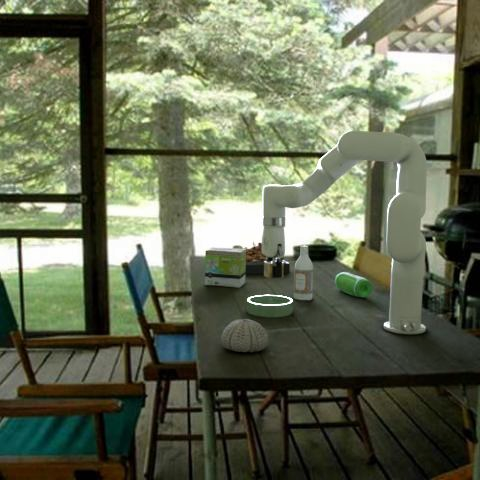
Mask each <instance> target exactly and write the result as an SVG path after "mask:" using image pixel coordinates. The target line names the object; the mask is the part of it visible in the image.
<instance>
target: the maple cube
mask: <svg viewBox="0 0 480 480" xmlns="http://www.w3.org/2000/svg"><path fill="white" fill-rule="evenodd" d="M272 266H274V265H273V261H264V274H263V276H264V277H266V278H268V279H274V278H273V277H272ZM283 269H284V263H283V262H282V277H281V278H280V279H282V278H284V273H283Z"/></svg>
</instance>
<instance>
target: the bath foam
mask: <svg viewBox="0 0 480 480" xmlns="http://www.w3.org/2000/svg"><path fill="white" fill-rule="evenodd" d="M299 247H300V248H299V254H300V255H299V256H298V258H297V259H296V261H295V264H294V269H293V270H294V271H293V299H295V300H299V301H312V300H313V293H314V292H313V290H314V289H313V288H314V264H313V262H312V260H311V258H310V256H309V245H300V246H299Z"/></svg>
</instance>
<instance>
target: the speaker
mask: <svg viewBox="0 0 480 480" xmlns="http://www.w3.org/2000/svg"><path fill="white" fill-rule="evenodd" d="M334 285H335V286H336V287H337V289H339V290H340V291H341V292H343V293H345V294H347V295H350V296H352V297H357V298H361V299H363V298H367V297H369V296H370V295H371V293H372V292H373V285H372V283H371V282H370V281H369V280H368V279H367V278H365V277H362V276H359V275H356V274H353V273H350V272H348V271H347V272H346V271H343V272H339V273H337V274H336V275H335V278H334Z"/></svg>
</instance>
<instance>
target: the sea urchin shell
mask: <svg viewBox="0 0 480 480" xmlns="http://www.w3.org/2000/svg"><path fill="white" fill-rule="evenodd" d="M270 340H271V339H270V336H269V333H268V331H267V330H266V329H265V328H264V327H263V326H262V325H261V323H259V322H257V321H255V320H251V319H249V318H242V319H235V320H232V321H231V322H230V323H229V324H227V325H226V327H224V330H223V331H222V333H221V335H220V344H221V345H222V347H224V348H225V349H227V350H230V351H233V352H235V353H236V352H238V353H240V352H242V353H247V352H249V353H255V352H260V351H262V350H264V349H265V348H267V347H268V345H269V344H270Z"/></svg>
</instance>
